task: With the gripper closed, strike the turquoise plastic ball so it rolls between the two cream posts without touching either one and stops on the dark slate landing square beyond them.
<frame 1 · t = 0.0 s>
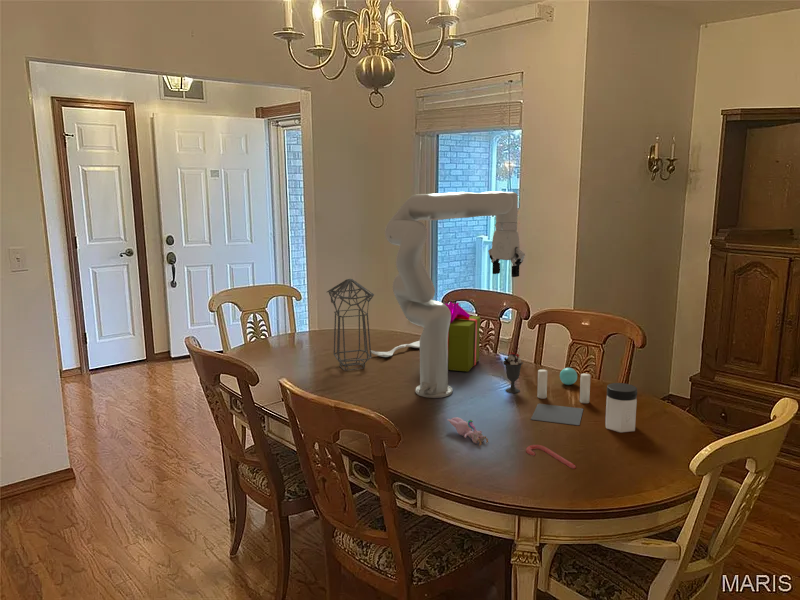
hand: (505, 275, 217), 37 cm above the table, tool pointing down, fingers open, 9 cm apart
right post: (584, 401, 195), on the table
sundae: (512, 391, 206), on the table
spoon: (404, 352, 257), on the table
left post: (541, 397, 200), on the table
jar: (619, 427, 174), on the table
ball: (568, 376, 211), on the table
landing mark: (557, 414, 185), on the table
geometric lantern: (352, 368, 236), on the table
gift box: (452, 365, 237), on the table
candy cane: (550, 460, 156), on the table
pink elongated figure: (466, 437, 170), on the table
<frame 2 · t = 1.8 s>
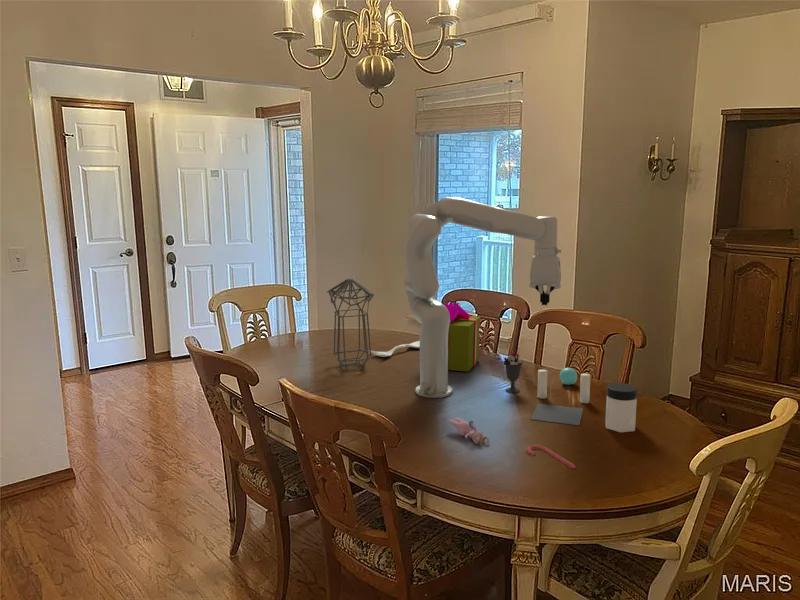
hand: (544, 304, 211), 28 cm above the table, tool pointing down, fingers closed
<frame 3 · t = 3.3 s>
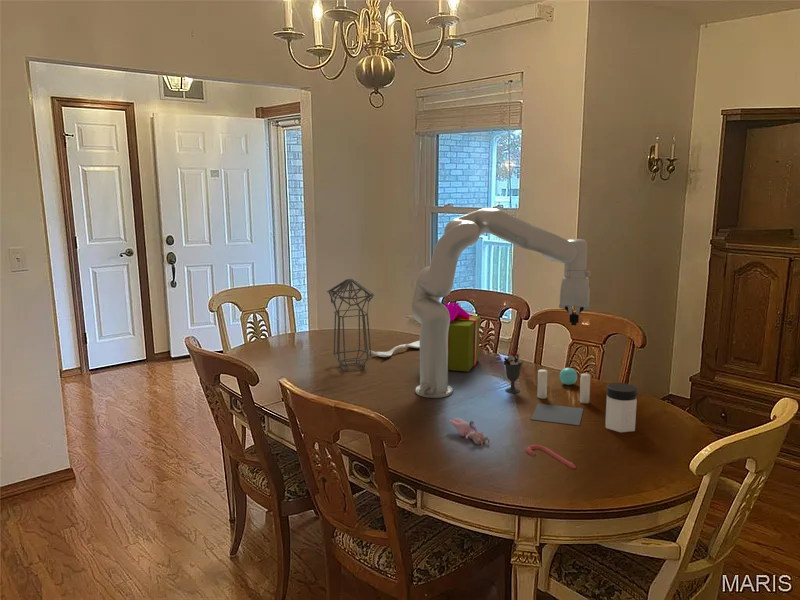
hand: (574, 324, 217), 19 cm above the table, tool pointing down, fingers closed
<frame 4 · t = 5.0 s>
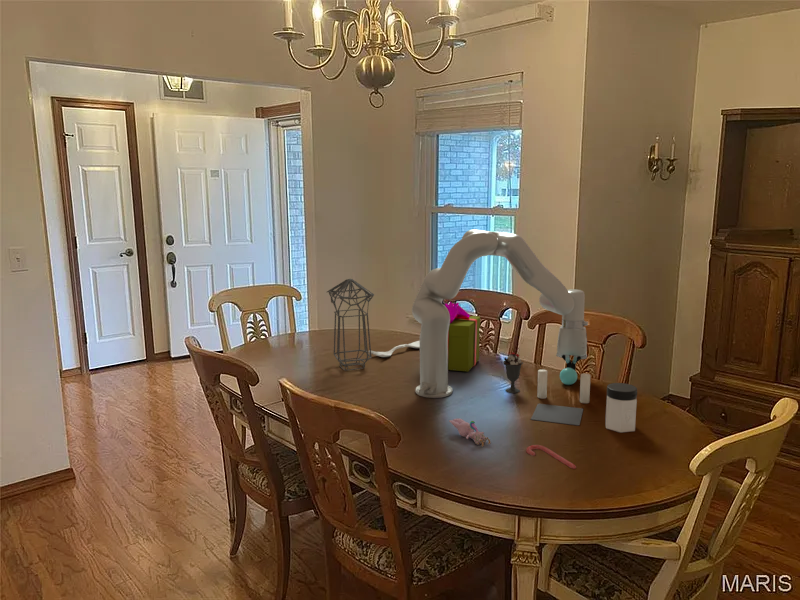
hand: (570, 373, 220), 1 cm above the table, tool pointing down, fingers closed
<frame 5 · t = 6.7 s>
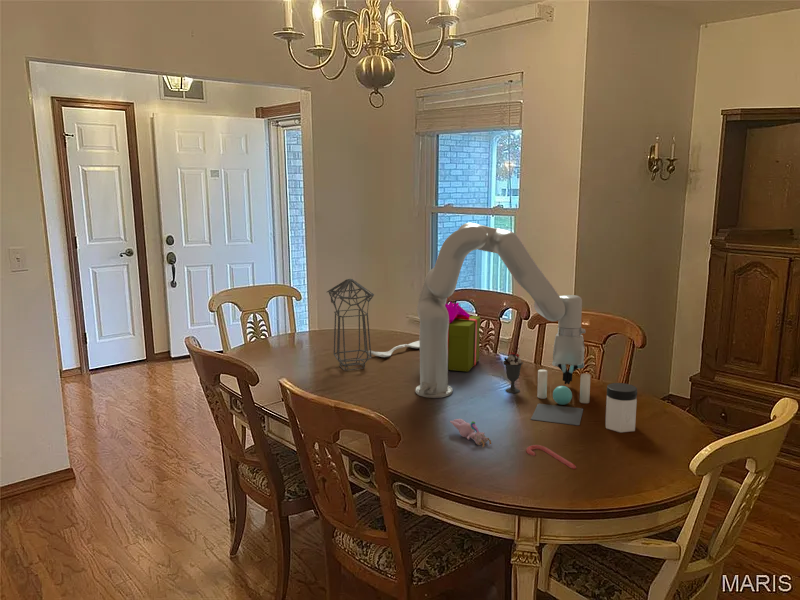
hand: (567, 382, 209), 2 cm above the table, tool pointing down, fingers closed
ball: (562, 395, 193), on the table
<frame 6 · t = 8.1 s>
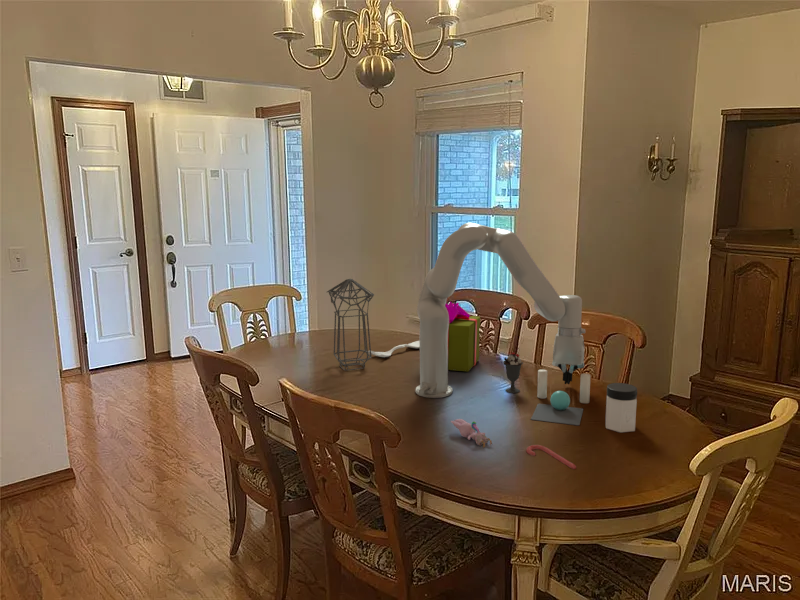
hand: (567, 382, 209), 2 cm above the table, tool pointing down, fingers closed
ball: (560, 400, 188), on the table
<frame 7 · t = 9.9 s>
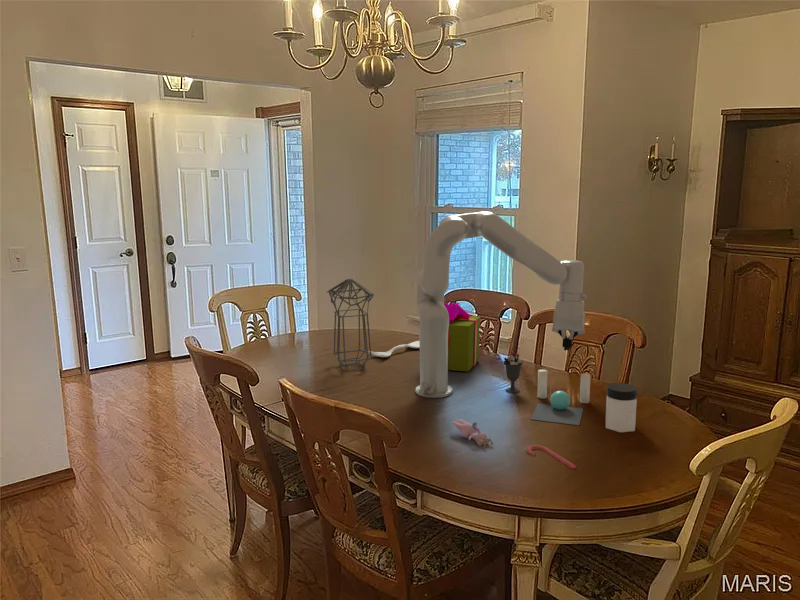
hand: (566, 349, 207), 13 cm above the table, tool pointing down, fingers closed
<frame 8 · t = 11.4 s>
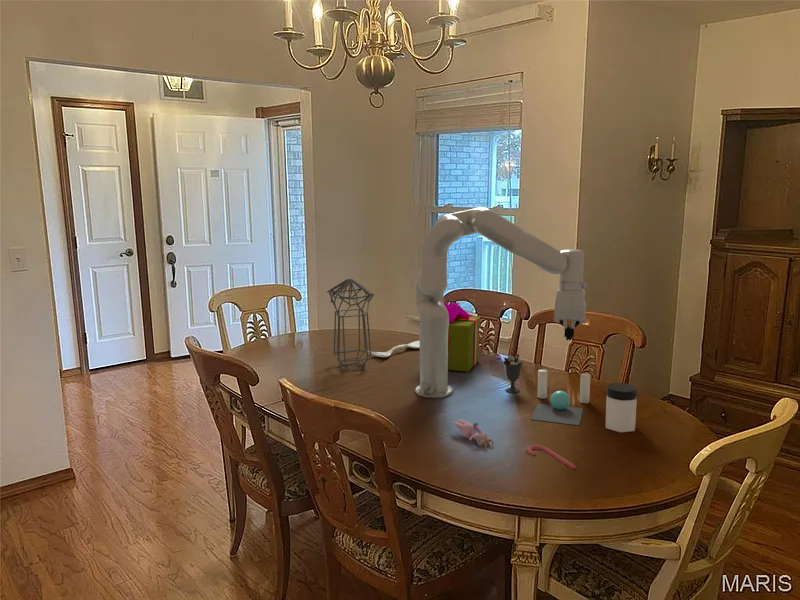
hand: (569, 339, 206), 17 cm above the table, tool pointing down, fingers closed
at the end: ball 4.4 cm from the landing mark (horizontally); ball never touched left post; ball never touched right post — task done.
